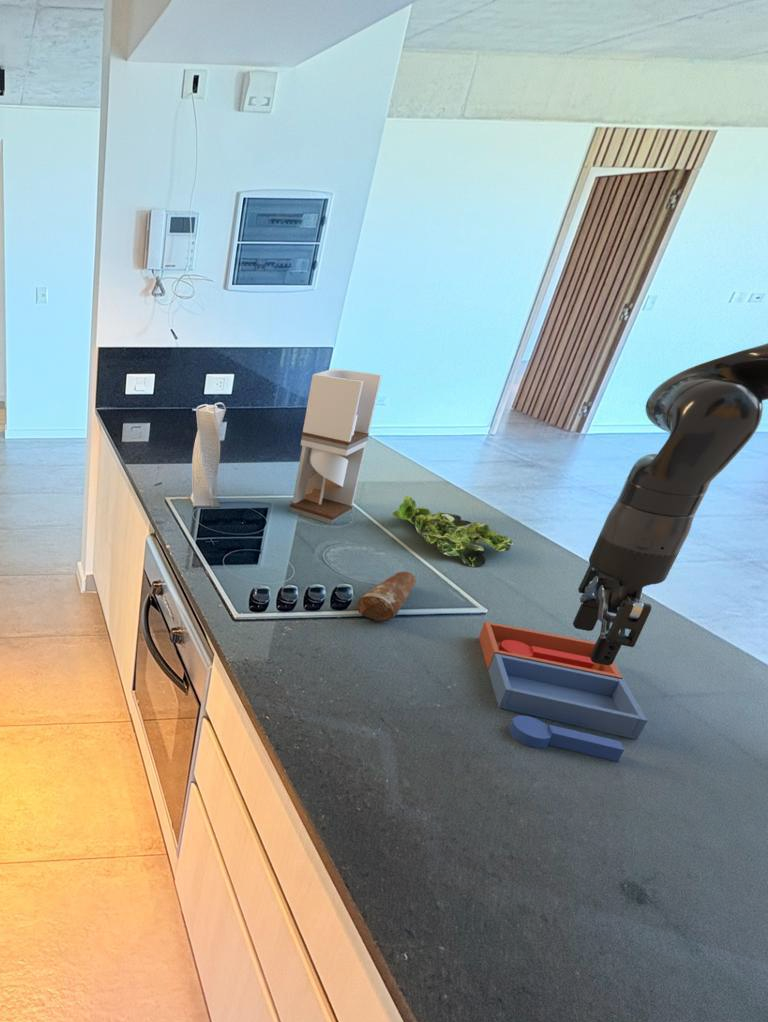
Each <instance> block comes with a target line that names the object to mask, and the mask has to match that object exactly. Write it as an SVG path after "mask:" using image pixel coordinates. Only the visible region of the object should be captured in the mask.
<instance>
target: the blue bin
mask: <svg viewBox="0 0 768 1022" xmlns="http://www.w3.org/2000/svg"><path fill="white" fill-rule="evenodd" d="M487 672H488V675H489V679H490V682H491V686H492V689H493V693H494V696H495V700H496V704H497V703H498V704H497V707H498V708H499V709H502V708H503V709H504V710H507V711H511V712H516V713H520V714H525V715H527V716H532V717H537V718H542V719H546V720H550V721H554V722H559V723H564V724H568V725H572V726H577V727H581V728H585V729H589V730H593V731H594V730H595V731H598V732H601V733H605V734H606V733H607V734H610V735H614V736H619V737H622V738H623V737H624V738H628V739H632V740H638V739H639V738H640V736H641V734H642V732H643V730H644V728H645V726H646V725H647V723H648V721H649V720H648V719H647V717H646V715H645V713H644V712H643V710H642V708H641V706H640V705H639V703H638V701H637V699H636V698H635V696H634V694H633V693H632V692H631V689H630V688H629V686H628V684H627V683H626V681H625V679H624V678H623V679H617V678H613V677H608V676H603V675H598V674H593V673H588V672H583V671H578V670H574V669H569V668H564V667H559V666H554V665H549V664H544V663H539V662H534V661H530V660H525V659H520V658H515V657H510V656H505V655H500V654H496V653H495V654H494V657H493V659H492V662H491V664H490V667H489V669H487Z"/></svg>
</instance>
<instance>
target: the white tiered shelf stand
mask: <svg viewBox="0 0 768 1022" xmlns="http://www.w3.org/2000/svg"><path fill="white" fill-rule="evenodd" d="M382 377H383V375H382V374H379V373H378V374H377V373H373V372H364V371H357V370H349V369H343V368H334V367H333V368H331V369H327V370H323V371H320V372H317V373H314V374H312V376H311V382H310V388H309V394H308V400H307V405H306V413H305V417H304V422H303V428H302V434H301V439H300V446H301V452H300V458H299V463H298V469H297V474H296V480H295V485H294V492H293V496H292V502H291V503H289V509H288V512H291V513H293V514H296V515H301V516H304V517H307V518H310V519H313V520H317V521H319V522H323V523H325V524H329V525H333V524H335V523H336V522H338V521H339V520H341V519H343V518H344V517H346V516H348V515H350V514H351V513H352V511H353V505H354V502H355V497H356V492H357V487H358V484H359V478H360V475H361V470H362V465H363V462H364V461H363V460H364V457H365V452H366V449H367V443H368V439H369V436H370V430H371V427H372V426H371V425H372V421H373V417H374V413H375V409H376V408H375V407H376V403H377V400H378V394H379V390H380V385H381V381H382Z"/></svg>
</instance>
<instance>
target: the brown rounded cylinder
mask: <svg viewBox="0 0 768 1022" xmlns="http://www.w3.org/2000/svg"><path fill="white" fill-rule="evenodd" d="M416 583H417V579H416V577H415V575H414V574H413V573H411V572H409V571H405V570H404V571H399V572H397V573H395V574H394V575H391V576H390V577H388V578H387V579H385V580H384V581H382V582H381V583H379V584H378V585H376V586H375V587H373V588H372V589H370V590H369V591H368V592H366V593H365V594H364V595H362V596H361V597H360V599H359V600H358V601H357V605H356V607H357V611H358V613H359V614H360V615H361V616H362V617H366V618H369V619H372V620H374V621H377V622H388V621H391V620H392V619H393V618H395V617H396V615H398V613H399V611H400V610H401V608H402V607H403V606H404V604H405V602H406V600H407V599H408V597H409V595H410V594H411V592H412V590H413V588H414V586H415V585H416Z"/></svg>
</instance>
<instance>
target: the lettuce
mask: <svg viewBox="0 0 768 1022" xmlns="http://www.w3.org/2000/svg"><path fill="white" fill-rule="evenodd" d="M392 516H393V517H394V518H396V519H400V520H403V521H405V522H409V523H410V524H411V525H414V527H415V529H416V532H417V533H418V534H419V535H420V536H422V538H424V541H425V542H427V544H435V542H436V543H437V544H436V546H437V550H439V552H440V553H441V554H443V555H446V556H448V557H456V556H458V557H459V559H460V560H461V562H462V564H463V565H465V566H468V567H471V568H480V567H482V566H484V565H485V564H486V563H487V562H486V557H485V556H484V553H485V552H484V551H485V549H484V547H483V546H482V545H479V543H483V544H485V545H486V546H489V547H491V548H492V549H494V551H497V552H504V551H507V552H508V551H510V549H511V546H513V545H515V542H514V541H513V540H512V539H511V538H510V537H509V536H508V535H503V534H502V533H499V532H496V531H493V530H491V528H490V526H489V524H488V523H485V522H479V521H478V522H472V521H470V520H463V519H462V516H461V515H457V514H452V513H447V512H443V511H439V512H437V513H433V512H431V511H430V509H429V508H426V507H417V503H416V500H414V499H413V498H412V497H410V496H408V495H405V496H404V497H403V502H402V503H400V505H399V507H398V509H397V510H395V511H393V513H392ZM468 525H469V526H468Z"/></svg>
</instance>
